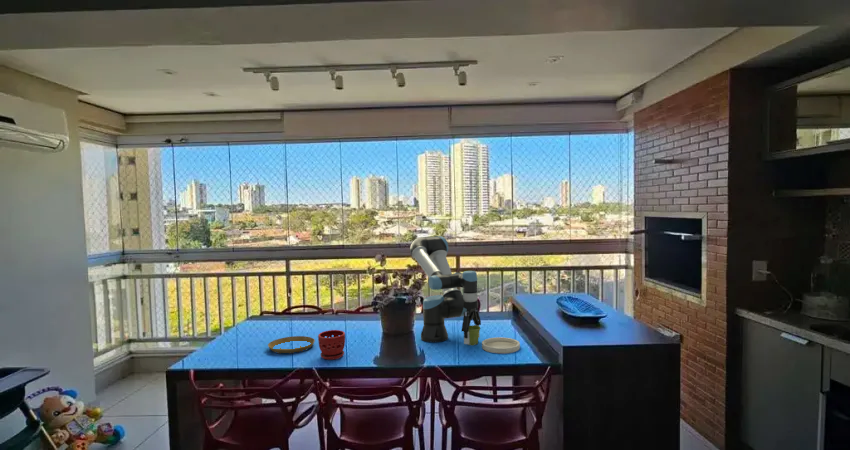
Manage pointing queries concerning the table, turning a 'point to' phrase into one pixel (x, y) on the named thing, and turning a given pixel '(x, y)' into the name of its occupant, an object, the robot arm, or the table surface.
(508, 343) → the saucer
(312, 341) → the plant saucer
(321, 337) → the plant pot
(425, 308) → the robot arm
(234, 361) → the table surface
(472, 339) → the plant pot
